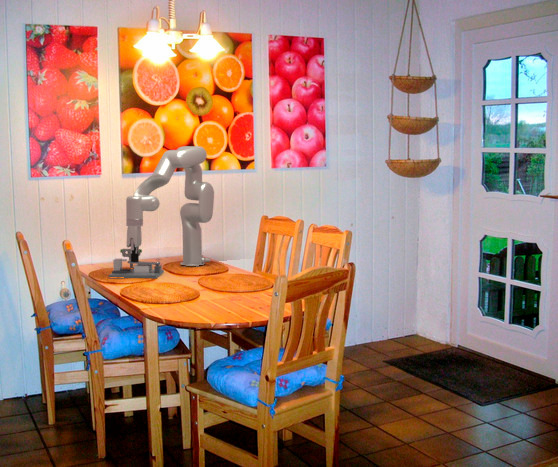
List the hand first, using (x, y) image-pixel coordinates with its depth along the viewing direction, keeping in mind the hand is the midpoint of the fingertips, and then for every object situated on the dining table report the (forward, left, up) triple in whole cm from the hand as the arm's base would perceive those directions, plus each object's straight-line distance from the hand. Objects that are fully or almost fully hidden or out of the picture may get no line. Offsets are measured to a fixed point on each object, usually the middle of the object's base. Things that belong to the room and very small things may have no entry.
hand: (134, 261), depth 321 cm
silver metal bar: (-4, -1, -1) cm, 4 cm away
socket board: (-1, -1, -7) cm, 7 cm away
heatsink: (-4, -1, -5) cm, 6 cm away
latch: (+7, -1, -5) cm, 9 cm away
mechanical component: (+6, -18, -7) cm, 20 cm away
